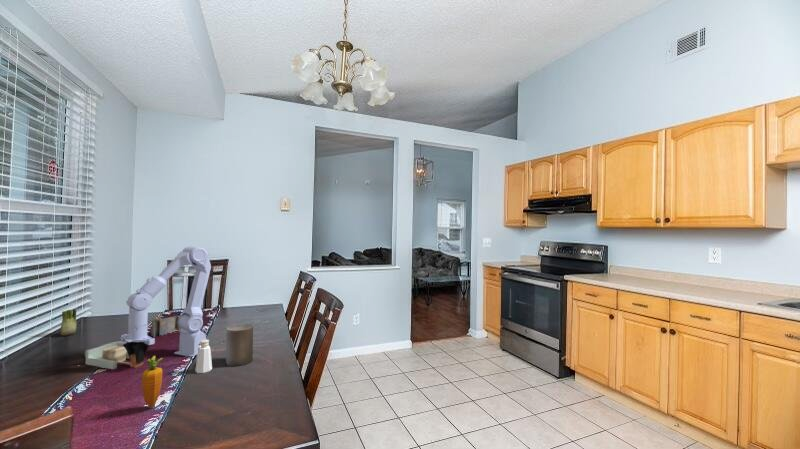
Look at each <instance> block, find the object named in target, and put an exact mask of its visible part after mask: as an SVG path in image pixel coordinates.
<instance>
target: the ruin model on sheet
mask: <svg viewBox="0 0 800 449" xmlns="http://www.w3.org/2000/svg"><path fill="white" fill-rule="evenodd" d="M180 316H181V315H175V316H174V315H173V316H169V317H165V318H161V316H159V317H155V318H153V319H152V320H151V337H152V336H153V337H152V338H155V337H156V336H159V337H160V335H161V336H165V335H168V334H167V333H170V334H172V332H174V333H176V332H175V331H178V332H180V329H181V327H180V326H179V325H178V319H179V317H180ZM158 334H159V335H158ZM164 334H165V335H164Z"/></svg>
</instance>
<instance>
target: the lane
mask: <svg viewBox="0 0 800 449" xmlns="http://www.w3.org/2000/svg"><path fill="white" fill-rule="evenodd" d="M114 342H115V343H111V342H110V343H111V344H108V345H104V344H103V345H104V346H101V345H100V346H101V347H99V346H97V347H98V348H95V347H93V348H94V349H91V348H90V349H91V350H87V349H86V350H87V351H86V350H85V351H86V358H85V365H88V366H92V367H99V368H104V369H108V370H115V369H117V367H118V365H117V364H118V363H117V361H112V360H107V359H102V351H103V350H105V349H108V348H111V347H114V346H117V343H116V341H114ZM126 359H127V360H130V359H129V355H128V353H127V350H126Z"/></svg>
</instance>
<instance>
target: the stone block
mask: <svg viewBox="0 0 800 449" xmlns="http://www.w3.org/2000/svg"><path fill="white" fill-rule="evenodd" d="M115 342H116V343H117V346H121V347H124V346H123V344H125V343H126V342H125V341H121V340H118V341H112V342H111V341H110V342H107V343H104V344H101V345H99V346H96V347H92V348H87V349H85V351H84V358H85V359H86V351H87V350H91V349H94V348H98V347H101V346H104V345H108V344H111V343H115Z"/></svg>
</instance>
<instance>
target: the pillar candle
mask: <svg viewBox="0 0 800 449" xmlns="http://www.w3.org/2000/svg"><path fill="white" fill-rule="evenodd" d="M225 343H226V344H225V346H226V347H225V348H226V349H225V350H226V351H225V365H227V366H231V367H238V366H243V365H244V366H245V365H247V364H250V363H252V362H253V360H254V358H253V355H254V325H253V324H252V323H241V322H240V323H235V324H232V325H230V326H227V327H226V342H225Z"/></svg>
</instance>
